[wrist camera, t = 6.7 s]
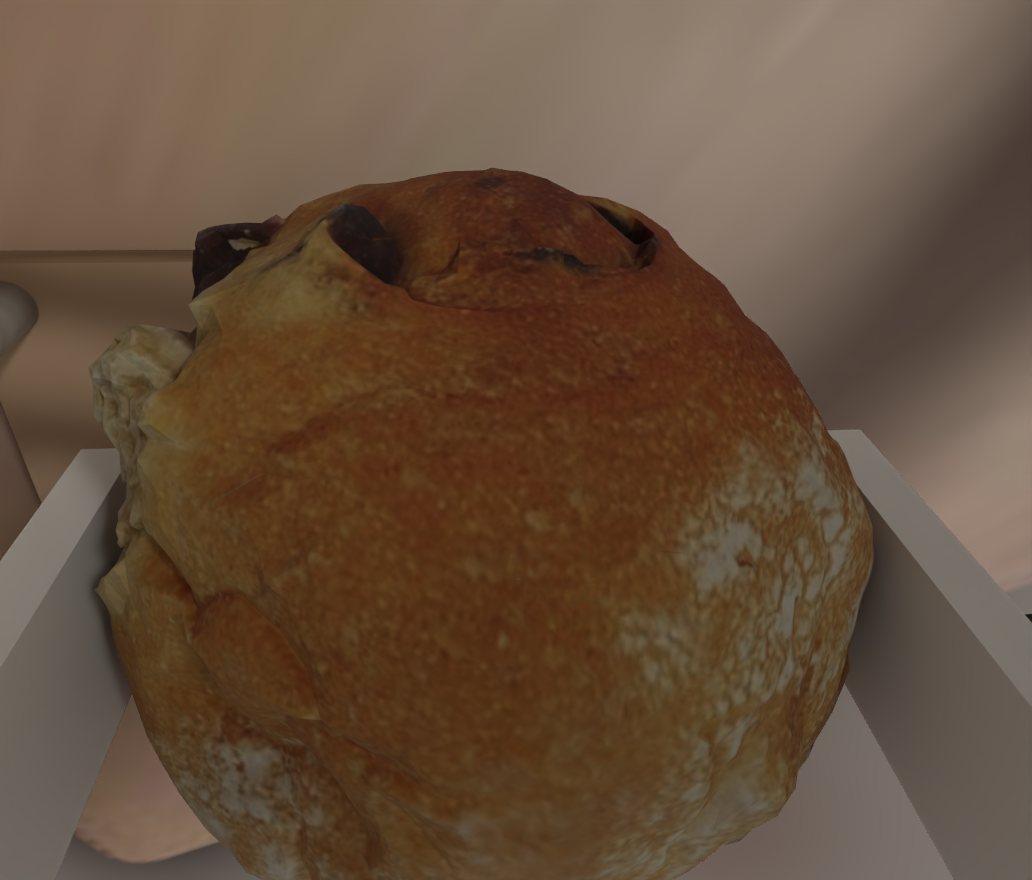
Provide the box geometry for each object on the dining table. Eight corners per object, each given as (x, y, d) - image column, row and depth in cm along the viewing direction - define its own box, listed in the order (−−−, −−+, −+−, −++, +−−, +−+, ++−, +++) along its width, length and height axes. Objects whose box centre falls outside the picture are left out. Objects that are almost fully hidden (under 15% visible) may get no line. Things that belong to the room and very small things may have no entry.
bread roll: (330, 568, 18) (381, 979, 13) (-113, 293, 9) (-366, 1190, 5) (742, 408, 16) (946, 810, 12) (676, -94, 8) (1312, 686, 3)
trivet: (-36, 251, 26) (-159, 329, 20) (414, 248, 27) (405, 322, 21) (92, 581, 34) (26, 696, 29) (432, 569, 35) (428, 679, 30)
